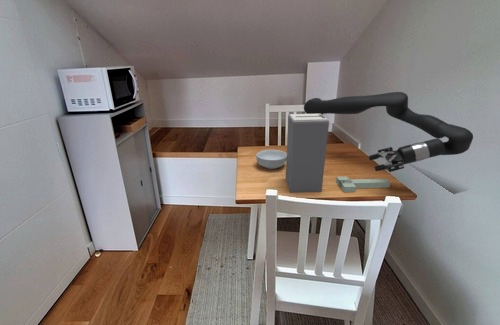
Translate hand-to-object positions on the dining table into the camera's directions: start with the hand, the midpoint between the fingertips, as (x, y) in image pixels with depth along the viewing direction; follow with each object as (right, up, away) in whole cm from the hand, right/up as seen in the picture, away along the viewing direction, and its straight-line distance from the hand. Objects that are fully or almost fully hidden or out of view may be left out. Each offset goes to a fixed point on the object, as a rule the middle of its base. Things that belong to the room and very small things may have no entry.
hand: (371, 163), depth 106 cm
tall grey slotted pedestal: (-29, -10, +8) cm, 32 cm away
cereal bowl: (-42, -2, +29) cm, 51 cm away
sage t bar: (-1, -11, +5) cm, 12 cm away
